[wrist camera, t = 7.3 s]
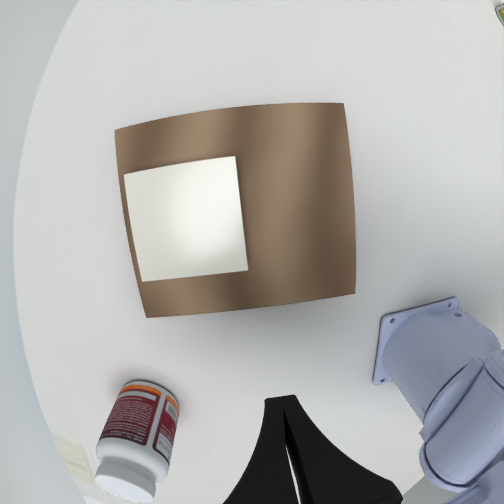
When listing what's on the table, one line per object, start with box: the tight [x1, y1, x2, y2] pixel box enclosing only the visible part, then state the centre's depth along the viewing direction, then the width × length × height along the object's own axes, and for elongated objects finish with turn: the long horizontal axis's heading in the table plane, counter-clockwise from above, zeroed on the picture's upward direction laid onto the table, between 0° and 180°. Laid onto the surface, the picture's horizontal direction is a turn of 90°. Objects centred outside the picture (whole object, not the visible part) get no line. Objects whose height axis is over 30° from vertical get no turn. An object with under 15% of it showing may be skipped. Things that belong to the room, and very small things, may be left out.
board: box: [115, 103, 356, 318], centre depth 19 cm, size 16×14×1 cm
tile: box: [124, 156, 248, 282], centre depth 17 cm, size 2×7×7 cm
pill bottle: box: [95, 381, 179, 503], centre depth 18 cm, size 6×6×11 cm
